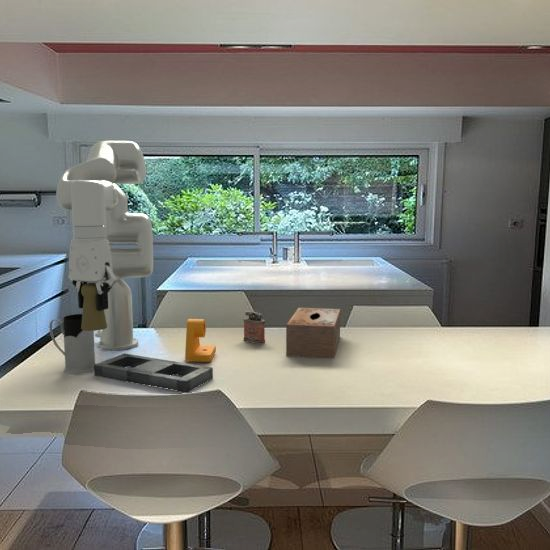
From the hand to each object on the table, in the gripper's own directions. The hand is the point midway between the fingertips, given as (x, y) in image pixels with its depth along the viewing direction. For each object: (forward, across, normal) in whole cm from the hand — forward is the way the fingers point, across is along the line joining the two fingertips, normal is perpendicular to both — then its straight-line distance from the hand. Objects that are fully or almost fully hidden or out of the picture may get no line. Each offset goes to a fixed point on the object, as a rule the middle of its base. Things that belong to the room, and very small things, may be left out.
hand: (93, 307), depth 133 cm
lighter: (+22, +12, +59) cm, 64 cm away
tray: (+21, +5, +15) cm, 26 cm away
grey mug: (+22, -20, +10) cm, 31 cm away
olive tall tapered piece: (+5, 0, 0) cm, 5 cm away
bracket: (+22, +7, +35) cm, 42 cm away
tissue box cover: (+22, +32, +63) cm, 74 cm away
